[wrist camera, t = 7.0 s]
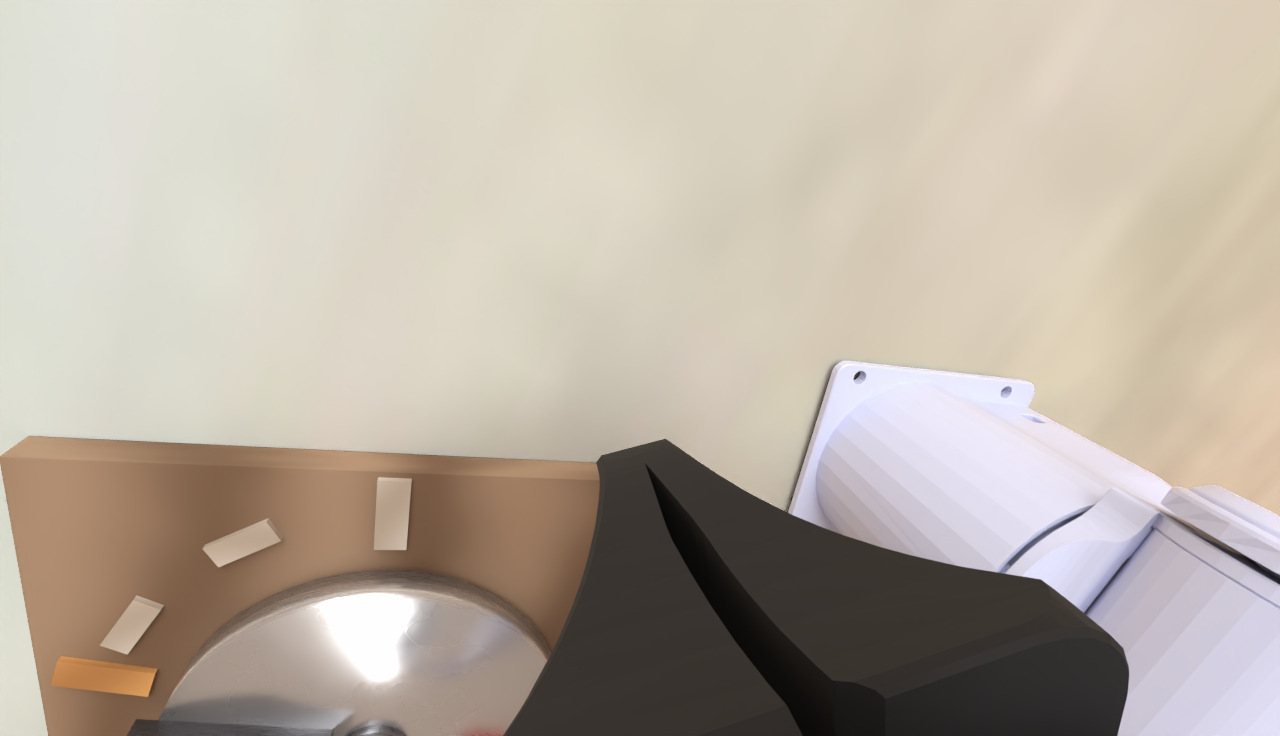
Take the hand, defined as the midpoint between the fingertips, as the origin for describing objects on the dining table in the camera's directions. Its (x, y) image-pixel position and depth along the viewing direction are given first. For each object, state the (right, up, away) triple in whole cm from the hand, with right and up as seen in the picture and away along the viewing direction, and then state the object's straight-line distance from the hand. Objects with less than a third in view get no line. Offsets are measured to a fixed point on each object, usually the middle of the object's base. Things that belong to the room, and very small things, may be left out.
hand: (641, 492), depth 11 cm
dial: (-10, -10, +11) cm, 18 cm away
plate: (-10, -10, +12) cm, 19 cm away
